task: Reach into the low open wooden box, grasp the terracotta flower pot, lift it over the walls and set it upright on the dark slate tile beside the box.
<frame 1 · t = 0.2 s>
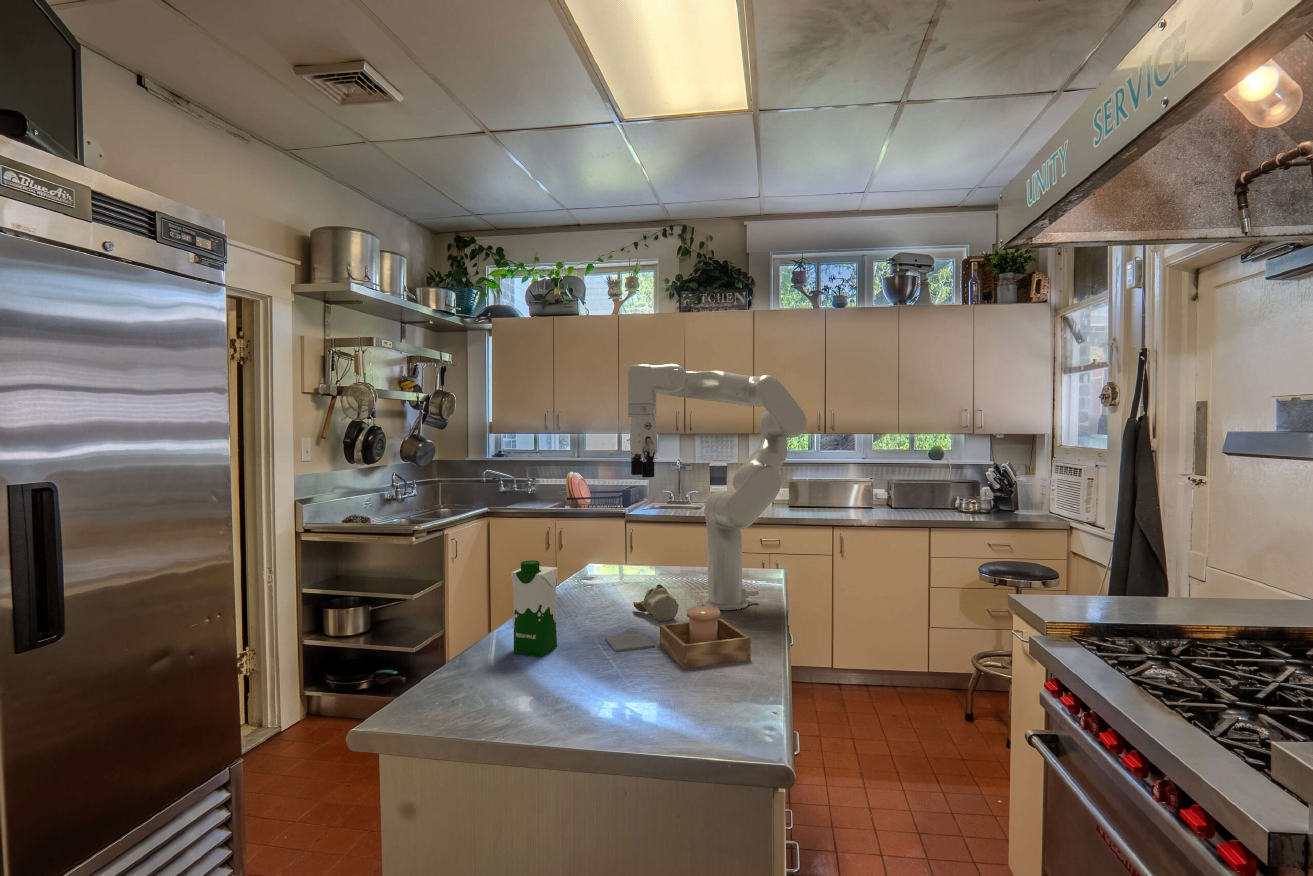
hand: (642, 476, 172), 37 cm above the worktop, fingers open, 9 cm apart
open wooden box: (703, 654, 141), on the worktop
ceramic sculpture: (658, 617, 170), on the worktop
milk carton: (535, 651, 144), on the worktop
terracotta pot: (703, 652, 141), resting on open wooden box
slate tile: (629, 645, 147), on the worktop
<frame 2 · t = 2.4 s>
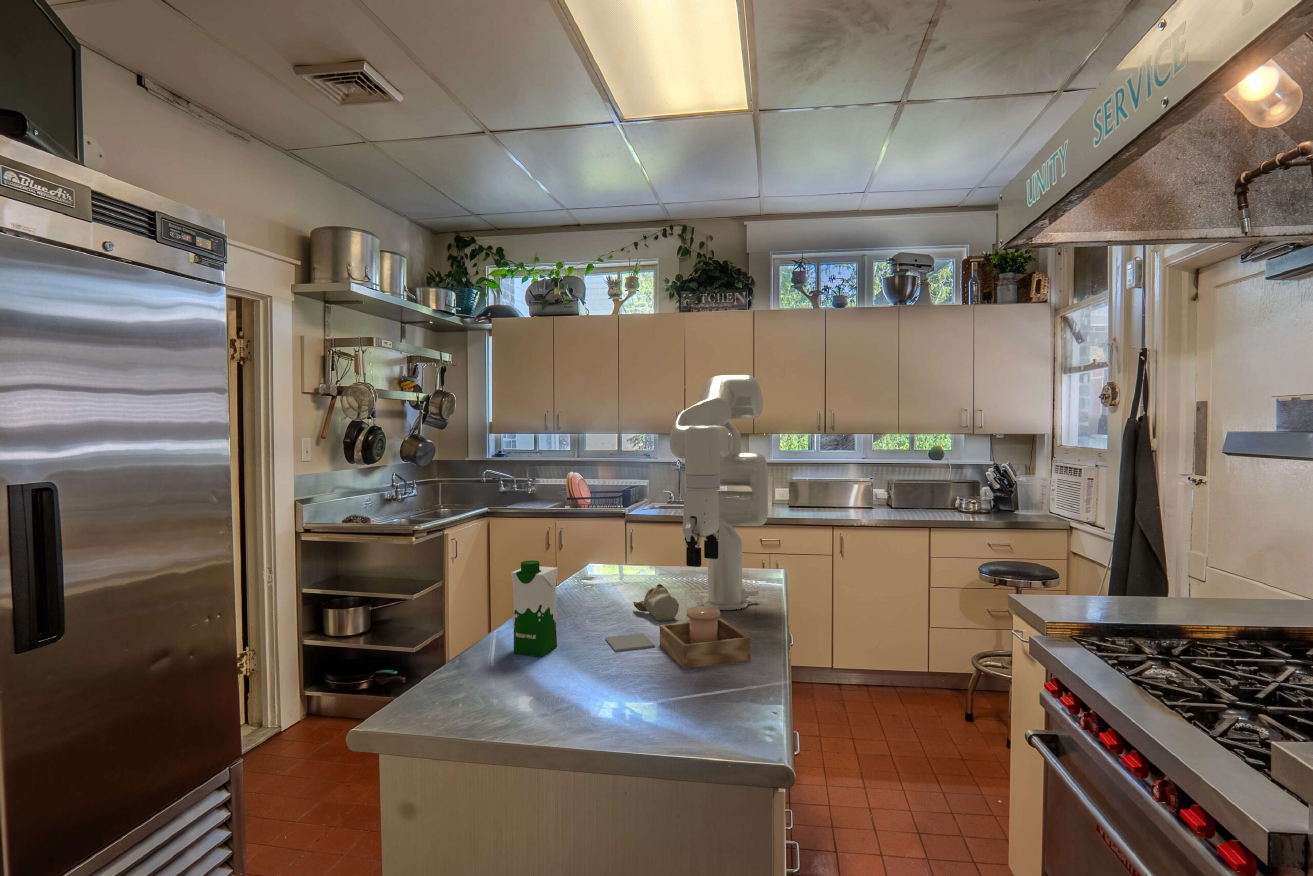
hand: (702, 562, 140), 20 cm above the worktop, fingers open, 9 cm apart
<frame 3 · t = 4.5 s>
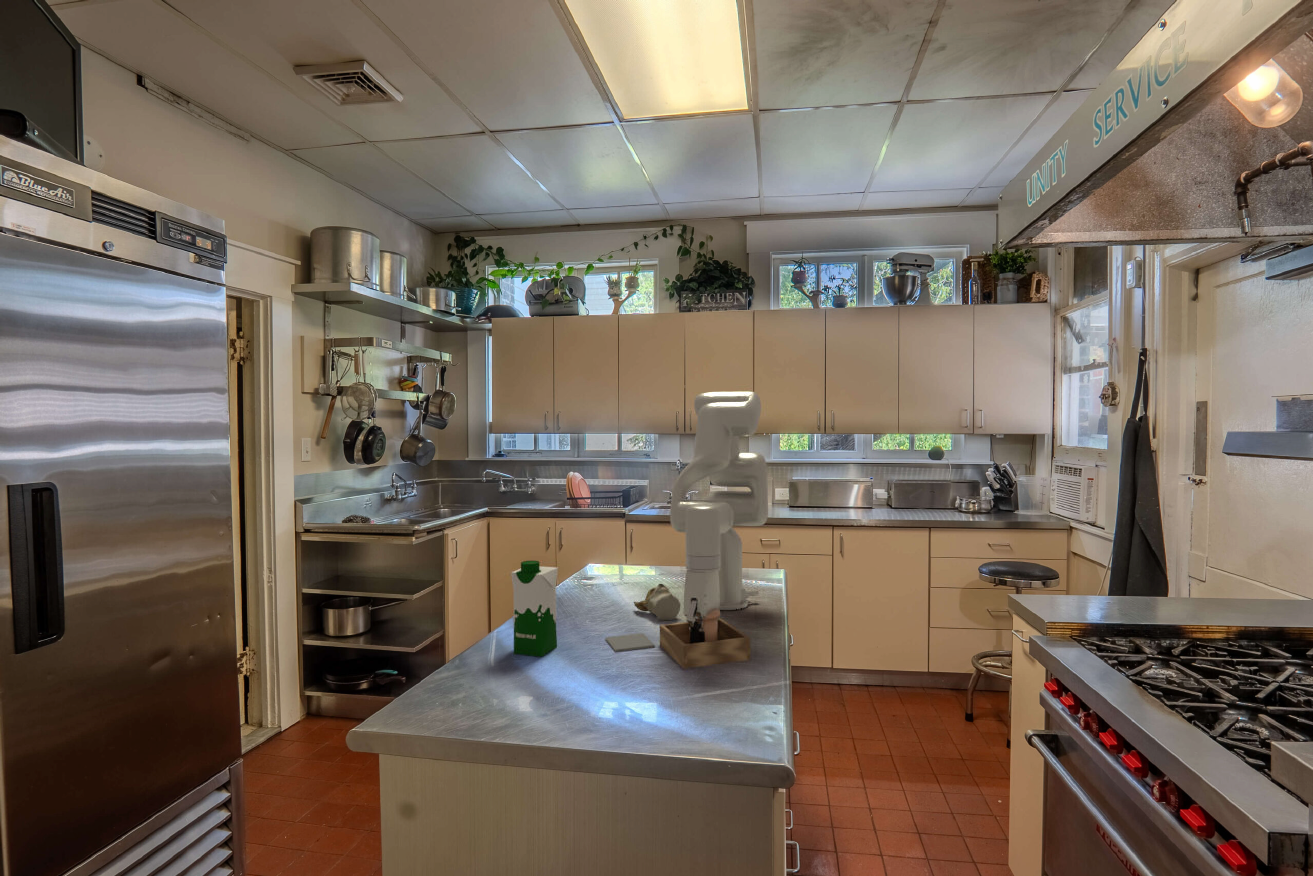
hand: (703, 644, 141), 2 cm above the worktop, fingers closed on terracotta pot, 6 cm apart
terracotta pot: (703, 652, 141), resting on open wooden box, touching gripper
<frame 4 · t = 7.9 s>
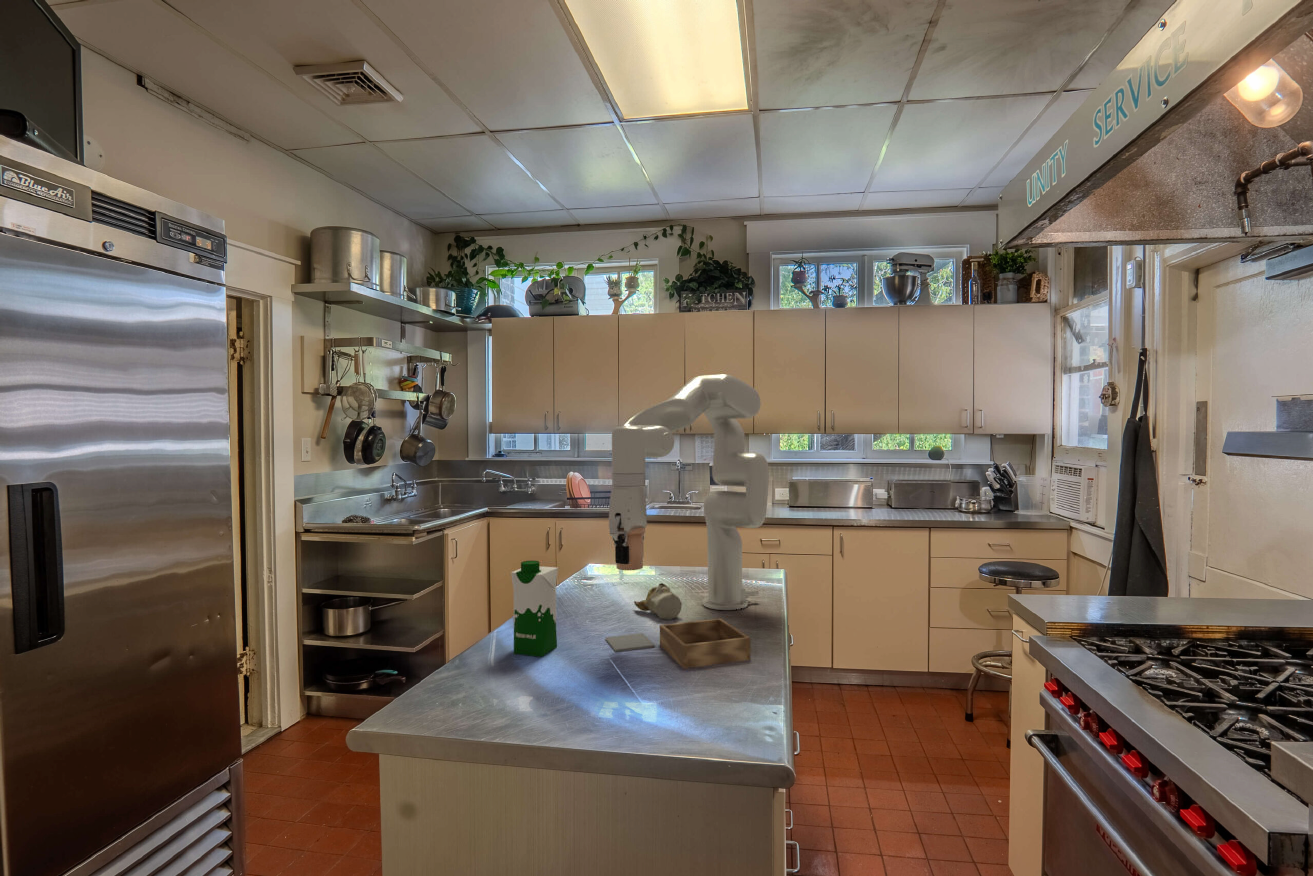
hand: (629, 560, 147), 19 cm above the worktop, fingers closed on terracotta pot, 6 cm apart
terracotta pot: (629, 567, 147), point 18 cm above the worktop, touching gripper
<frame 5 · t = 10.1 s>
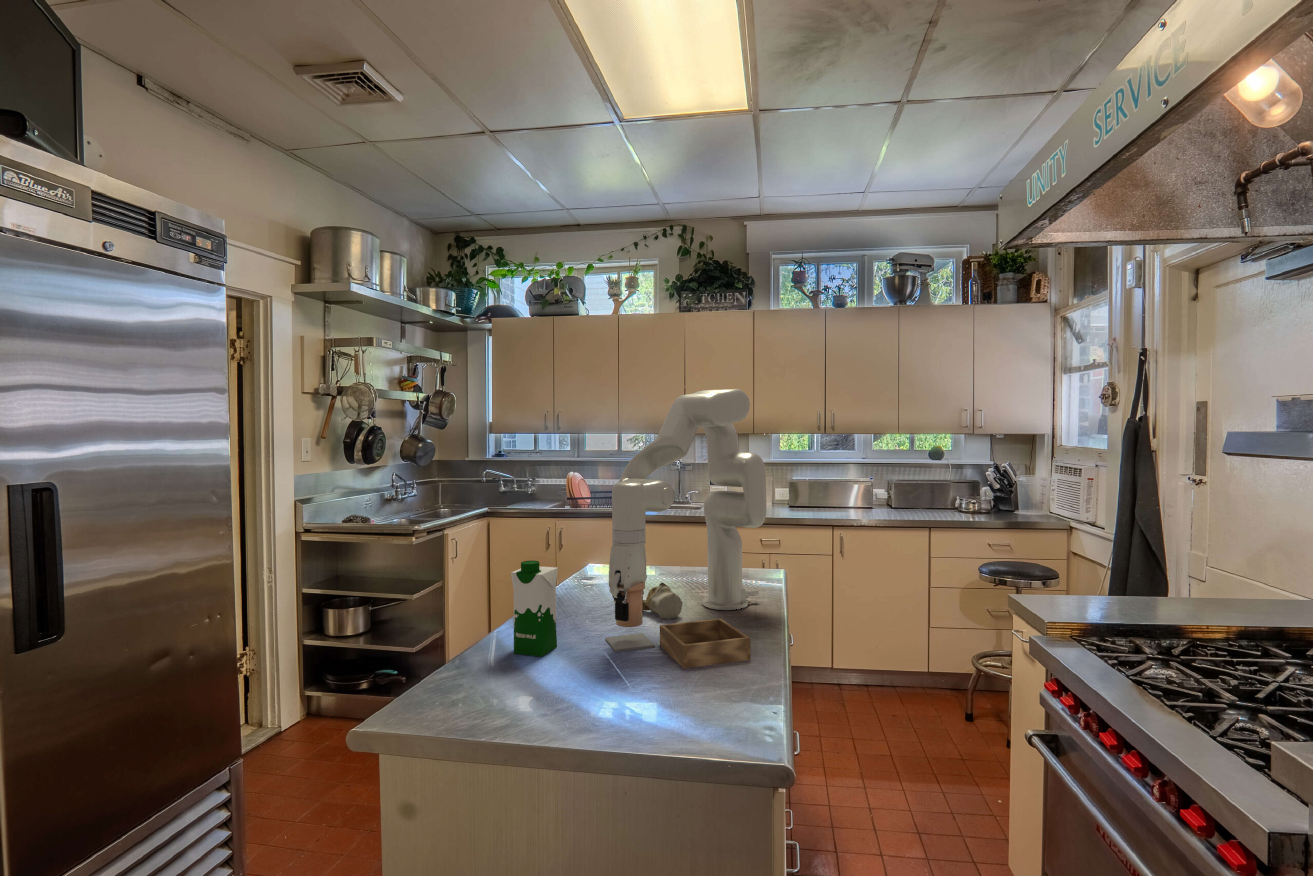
hand: (629, 615, 147), 7 cm above the worktop, fingers closed on terracotta pot, 6 cm apart
terracotta pot: (629, 623, 147), point 5 cm above the worktop, touching gripper
when the fingers open (4 cm above the worktop, at t = 11.6 s): terracotta pot drops 1 cm, resting on slate tile.
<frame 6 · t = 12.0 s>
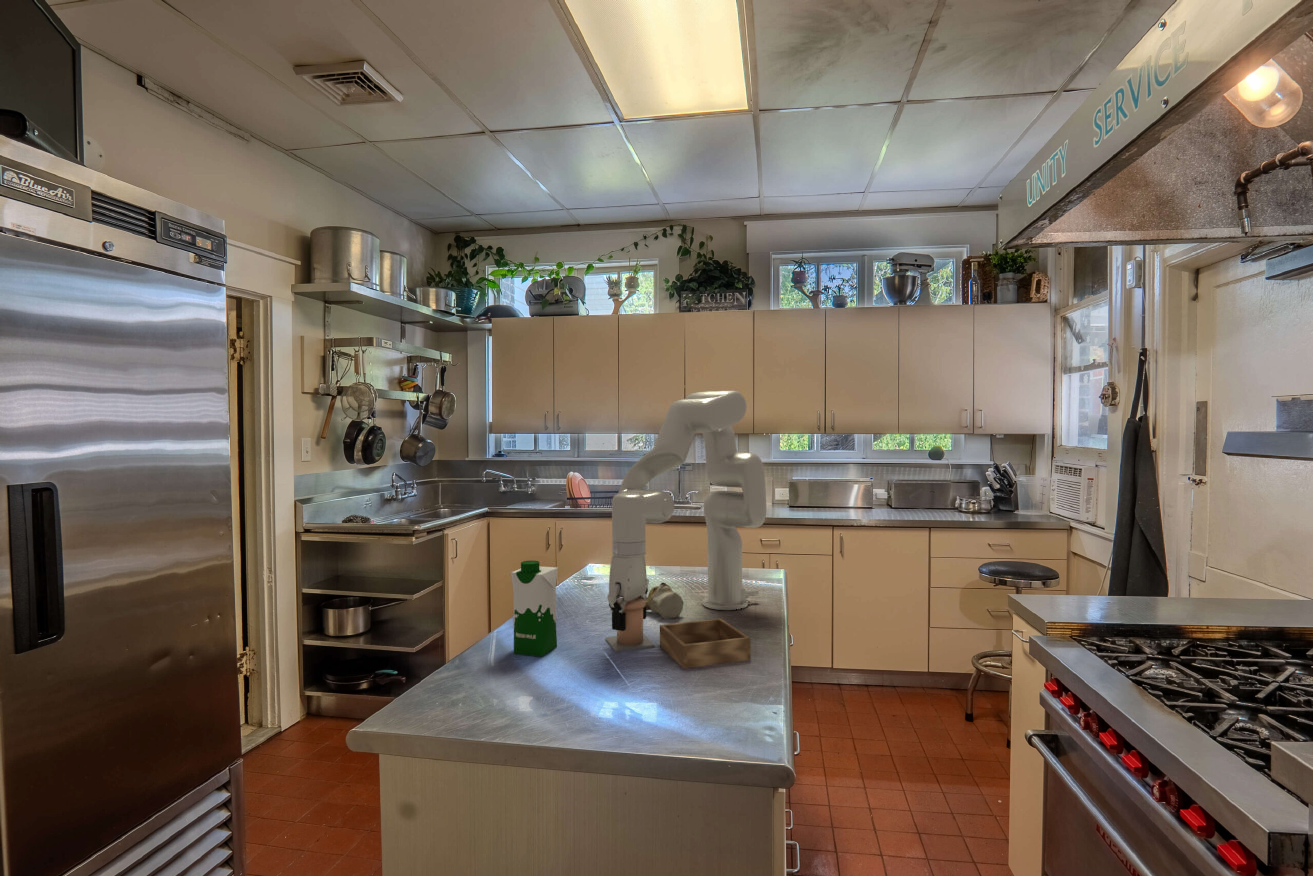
hand: (629, 624, 147), 5 cm above the worktop, fingers open, 9 cm apart
terracotta pot: (630, 640, 147), point 1 cm above the worktop, touching slate tile
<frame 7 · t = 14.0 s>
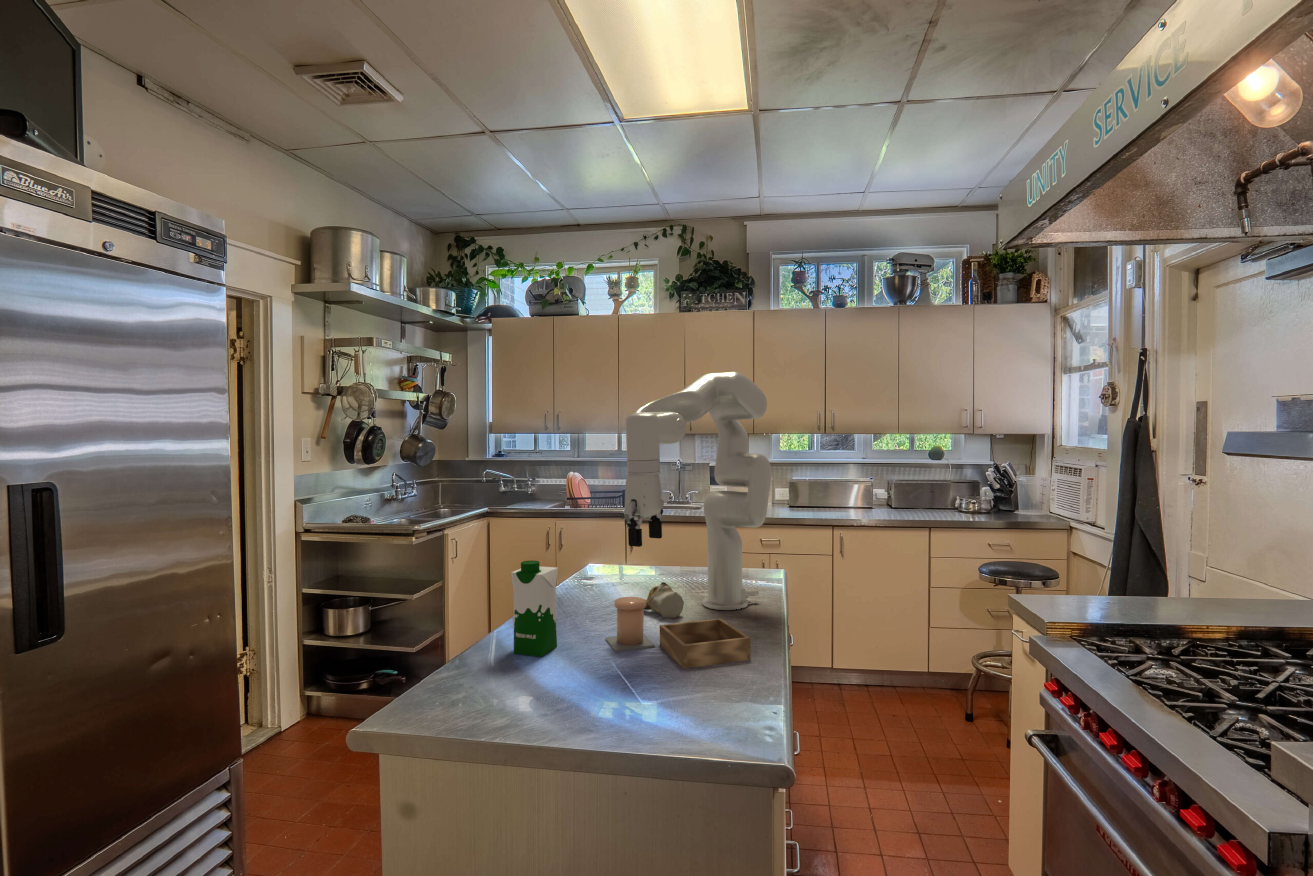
hand: (645, 542, 149), 23 cm above the worktop, fingers open, 9 cm apart
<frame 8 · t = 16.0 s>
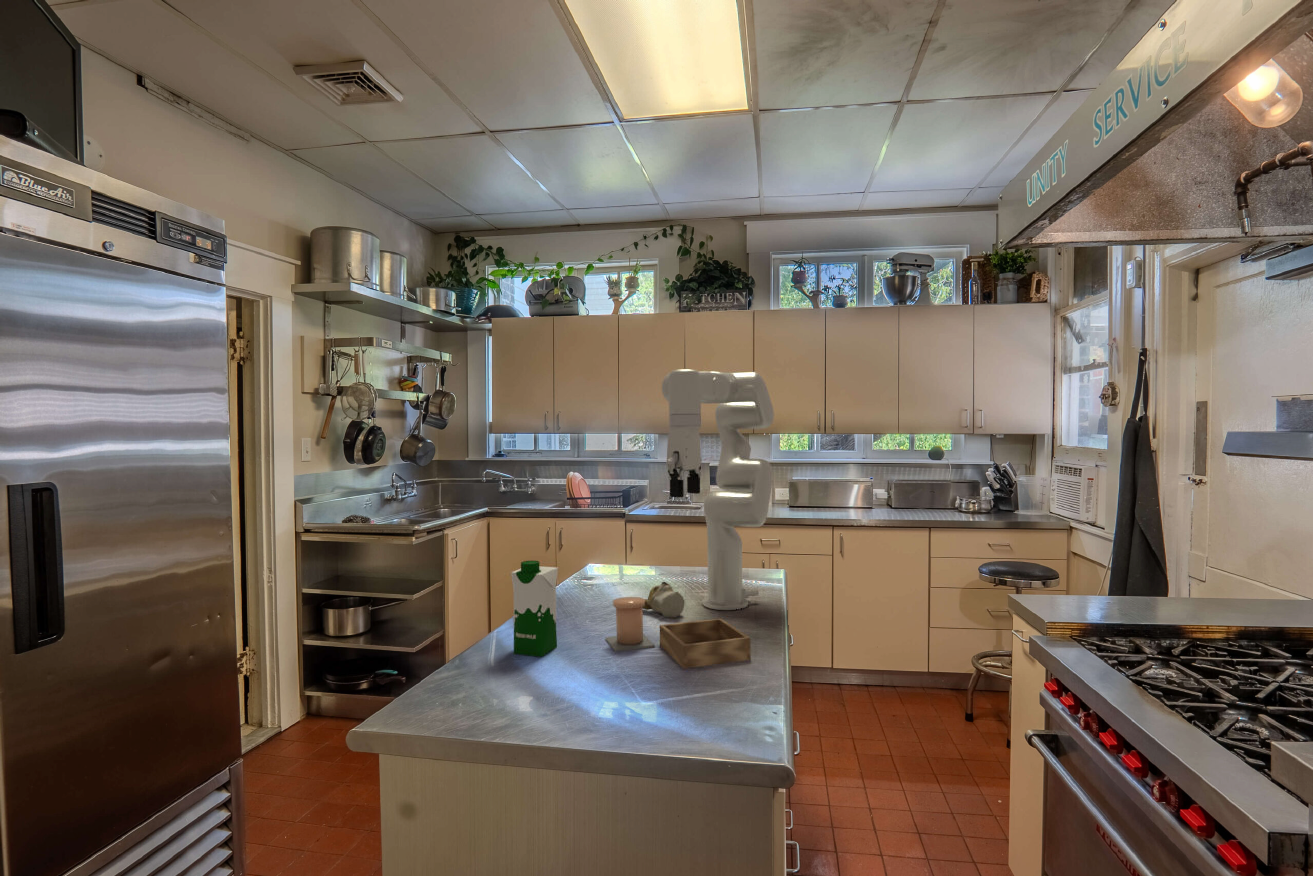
hand: (685, 495, 153), 33 cm above the worktop, fingers open, 9 cm apart
at the end: terracotta pot 0.1 cm off-centre on the slate tile, point 1.1 cm above the slate tile's base; terracotta pot tilted 2°; the gripper is holding nothing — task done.
